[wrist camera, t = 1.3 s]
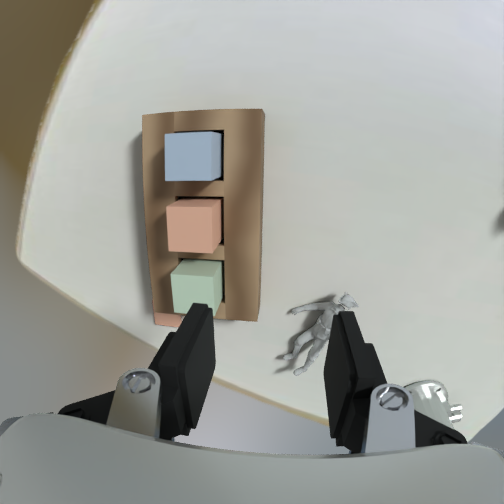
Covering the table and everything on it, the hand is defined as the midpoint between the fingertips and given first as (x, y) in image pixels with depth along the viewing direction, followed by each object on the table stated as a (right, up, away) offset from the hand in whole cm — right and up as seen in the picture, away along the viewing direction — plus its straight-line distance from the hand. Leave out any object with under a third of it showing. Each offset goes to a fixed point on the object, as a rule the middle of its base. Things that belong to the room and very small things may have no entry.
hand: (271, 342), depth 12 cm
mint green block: (-6, +1, +23) cm, 24 cm away
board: (-6, +8, +23) cm, 25 cm away
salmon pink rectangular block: (-6, +7, +21) cm, 23 cm away
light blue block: (-6, +13, +19) cm, 24 cm away
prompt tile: (-12, -4, +28) cm, 30 cm away
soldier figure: (+8, -6, +26) cm, 28 cm away
